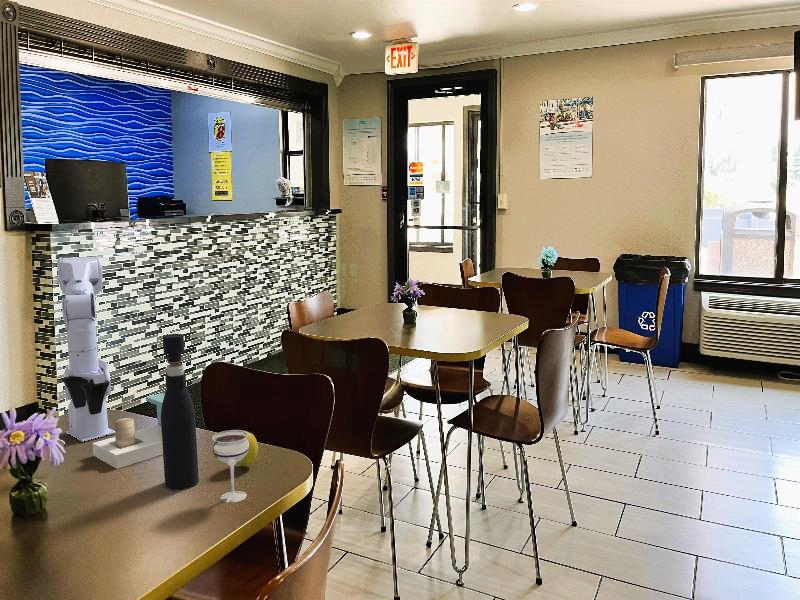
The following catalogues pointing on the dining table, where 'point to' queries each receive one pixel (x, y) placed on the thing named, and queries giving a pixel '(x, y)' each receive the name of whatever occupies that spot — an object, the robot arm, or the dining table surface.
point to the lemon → (250, 451)
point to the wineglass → (231, 456)
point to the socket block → (145, 443)
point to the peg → (124, 433)
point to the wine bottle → (178, 421)
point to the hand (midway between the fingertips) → (87, 410)
